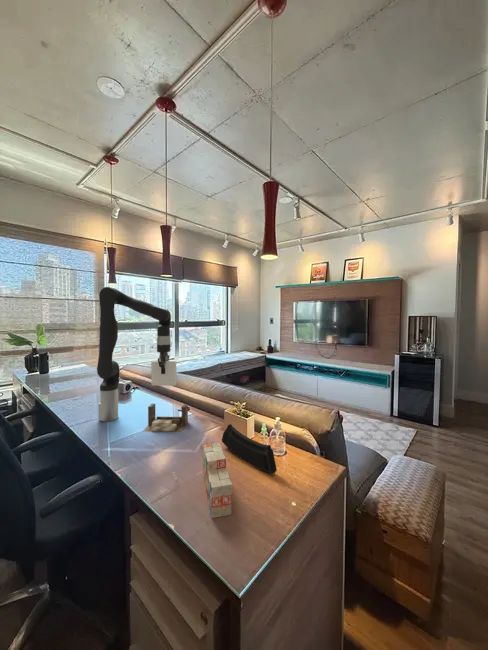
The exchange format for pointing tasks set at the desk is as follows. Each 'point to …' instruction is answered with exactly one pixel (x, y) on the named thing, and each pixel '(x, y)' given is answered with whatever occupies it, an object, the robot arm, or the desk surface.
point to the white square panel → (166, 378)
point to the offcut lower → (164, 428)
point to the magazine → (249, 450)
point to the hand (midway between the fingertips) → (163, 373)
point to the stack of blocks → (216, 480)
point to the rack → (179, 421)
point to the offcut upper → (161, 423)
